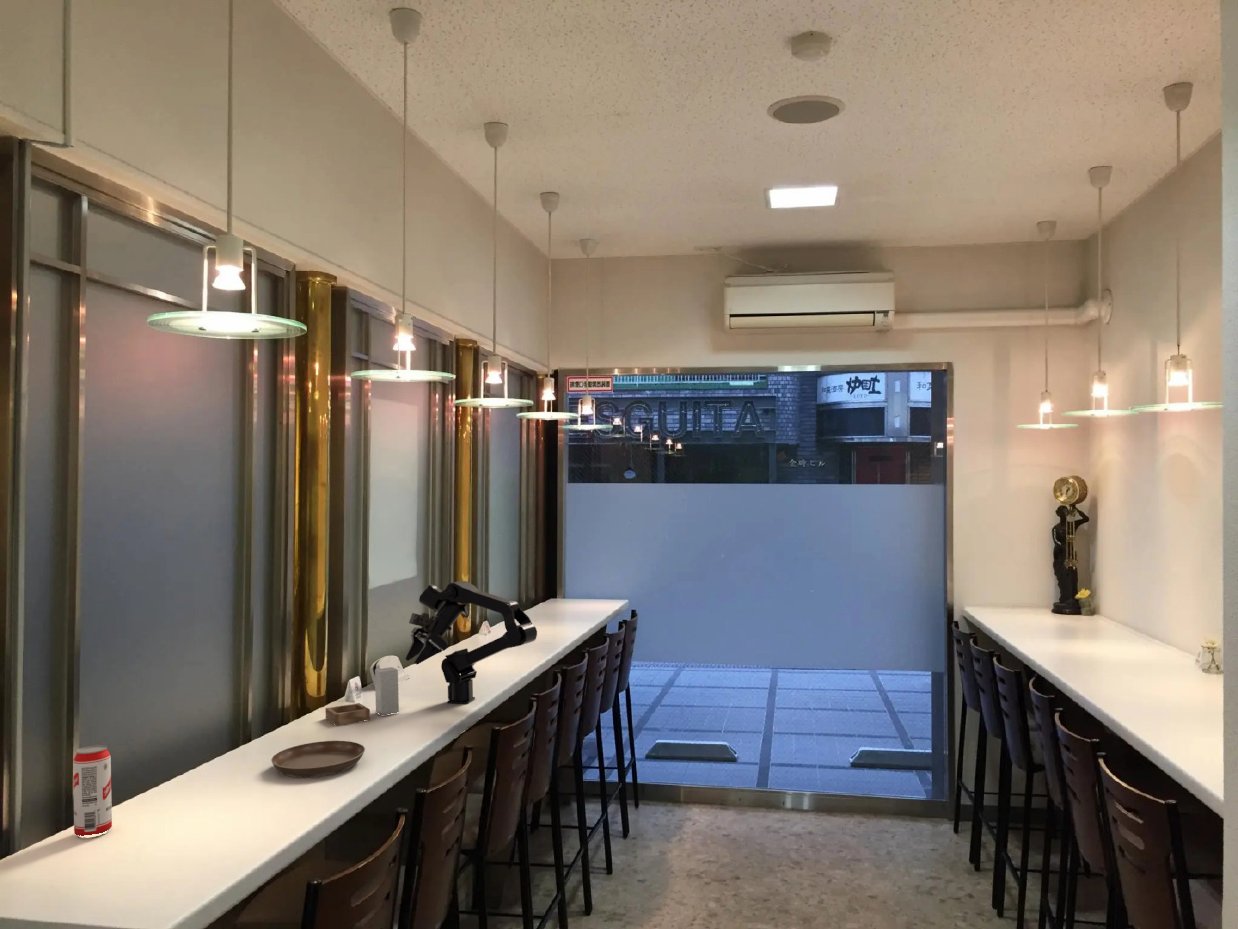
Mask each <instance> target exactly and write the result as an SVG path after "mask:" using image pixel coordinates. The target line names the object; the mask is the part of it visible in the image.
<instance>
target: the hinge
mask: <svg viewBox="0 0 1238 929" xmlns="http://www.w3.org/2000/svg"><path fill="white" fill-rule="evenodd" d="M389 667H393V668H395V669H397V670H398V682H399V681H403V680H405V679H406V678H408V677H410V674H409V673H408V672H406V671H405V670H404V668H403V666H402V663H401V661H400V659H399V657H398V656H396V655H386V656H383V657H381V658H379V659H377V660H375V661H374V662H373V663H372V664H371V666H370V667H369V672H370V673H369V674H370V675H371V679H372V683H373V686H374V688H375V669H381V668H389Z"/></svg>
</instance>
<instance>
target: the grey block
mask: <svg viewBox="0 0 1238 929" xmlns="http://www.w3.org/2000/svg"><path fill="white" fill-rule="evenodd" d="M374 689H375V694H374V695H375V713H376V712H377V713H379V714H380V715H387V714H391V713H397V712H399V713H400V709H399V706H400V705H399V704H400V703H399V701H400V700H399V684H398V670H397V669H395V668H393V667H389V668H381V669H375V687H374ZM377 713H376V714H377ZM380 715H379V716H380ZM387 716H388V715H387Z"/></svg>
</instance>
